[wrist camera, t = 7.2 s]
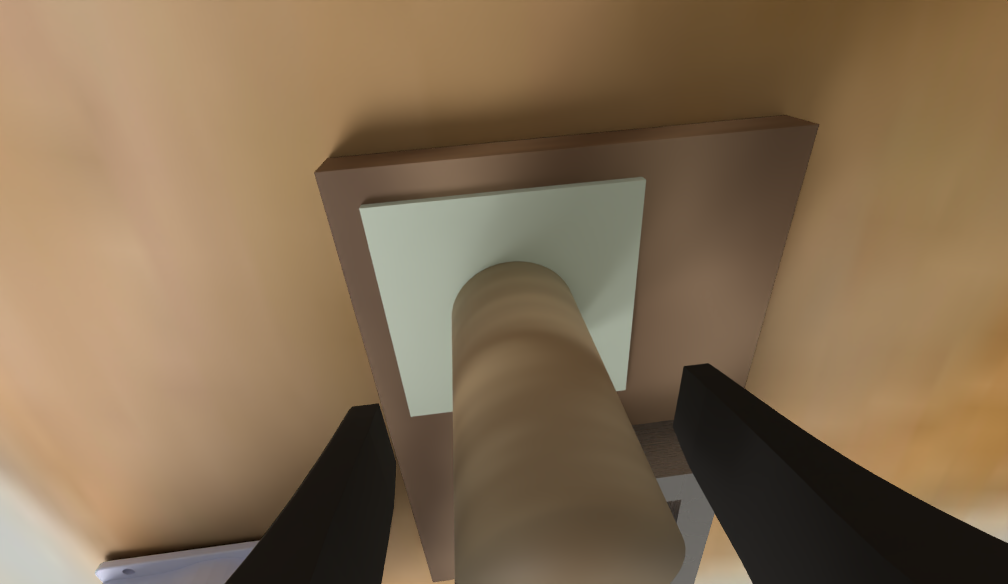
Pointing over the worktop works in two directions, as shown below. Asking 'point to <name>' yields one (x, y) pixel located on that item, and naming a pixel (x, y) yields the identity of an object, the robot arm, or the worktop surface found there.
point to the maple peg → (546, 446)
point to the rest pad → (498, 239)
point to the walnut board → (660, 274)
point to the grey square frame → (678, 492)
